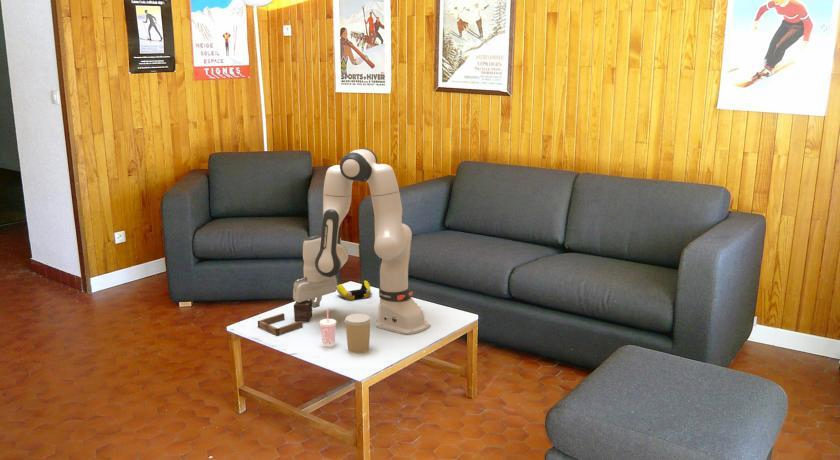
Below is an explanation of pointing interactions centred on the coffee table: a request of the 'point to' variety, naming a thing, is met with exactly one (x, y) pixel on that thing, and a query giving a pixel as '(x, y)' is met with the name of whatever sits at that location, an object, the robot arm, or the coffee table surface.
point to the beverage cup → (328, 331)
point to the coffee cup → (358, 332)
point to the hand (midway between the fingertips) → (315, 307)
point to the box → (303, 311)
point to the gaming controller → (355, 292)
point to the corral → (266, 326)
